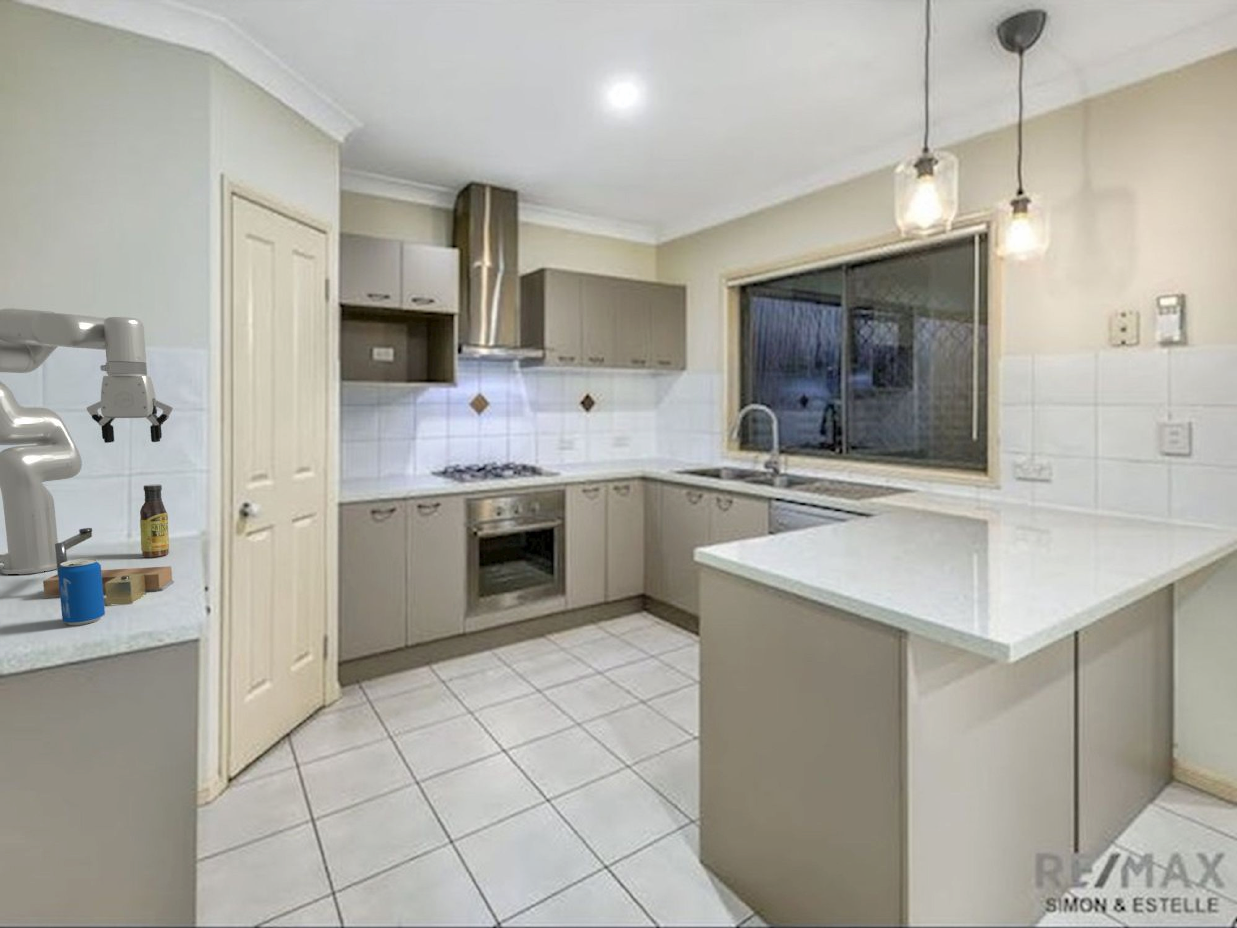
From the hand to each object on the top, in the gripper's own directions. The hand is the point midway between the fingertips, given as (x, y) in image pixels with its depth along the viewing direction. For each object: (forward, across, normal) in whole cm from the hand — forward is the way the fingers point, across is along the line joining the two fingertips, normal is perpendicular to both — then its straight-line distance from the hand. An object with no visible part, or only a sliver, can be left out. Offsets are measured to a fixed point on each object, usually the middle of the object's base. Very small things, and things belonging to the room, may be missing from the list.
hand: (132, 442), depth 154 cm
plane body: (+33, -2, -11) cm, 35 cm away
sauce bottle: (+34, -6, +23) cm, 41 cm away
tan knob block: (+34, +5, -20) cm, 39 cm away
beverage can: (+34, +3, -33) cm, 47 cm away
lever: (+29, -12, -4) cm, 32 cm away
